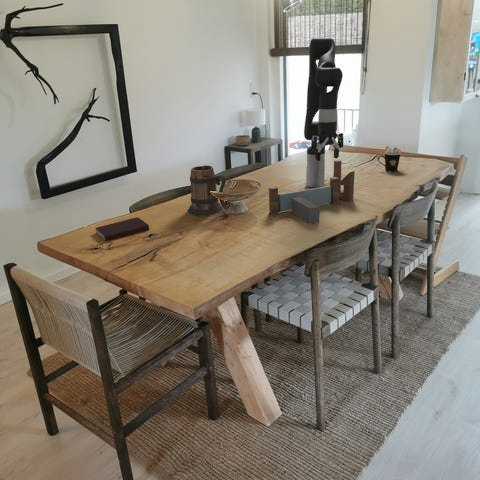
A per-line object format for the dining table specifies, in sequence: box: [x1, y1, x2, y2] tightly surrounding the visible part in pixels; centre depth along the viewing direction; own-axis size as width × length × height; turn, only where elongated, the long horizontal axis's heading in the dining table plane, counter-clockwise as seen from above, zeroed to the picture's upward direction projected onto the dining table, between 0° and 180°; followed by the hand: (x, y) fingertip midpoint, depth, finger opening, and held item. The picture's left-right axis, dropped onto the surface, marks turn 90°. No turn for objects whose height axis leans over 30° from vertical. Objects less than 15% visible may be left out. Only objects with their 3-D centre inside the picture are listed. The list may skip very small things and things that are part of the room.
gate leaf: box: [278, 185, 331, 213], centre depth 217 cm, size 2×27×8 cm, turn 111°
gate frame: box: [268, 176, 340, 216], centre depth 216 cm, size 3×34×12 cm, turn 111°
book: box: [95, 217, 150, 242], centre depth 201 cm, size 12×19×3 cm, turn 124°
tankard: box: [187, 164, 231, 217], centre depth 218 cm, size 24×17×20 cm
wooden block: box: [332, 159, 355, 202], centre depth 225 cm, size 4×11×18 cm, turn 40°
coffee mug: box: [377, 151, 402, 173], centre depth 270 cm, size 12×9×10 cm
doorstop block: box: [291, 197, 320, 224], centre depth 206 cm, size 16×4×7 cm, turn 21°
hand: (327, 159), depth 199 cm, fingers open, 8 cm apart
